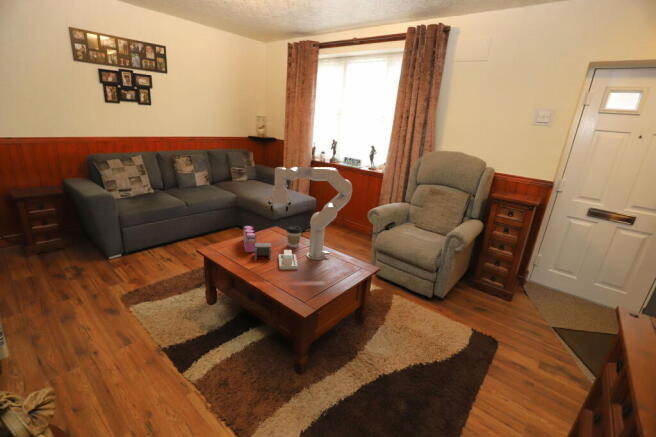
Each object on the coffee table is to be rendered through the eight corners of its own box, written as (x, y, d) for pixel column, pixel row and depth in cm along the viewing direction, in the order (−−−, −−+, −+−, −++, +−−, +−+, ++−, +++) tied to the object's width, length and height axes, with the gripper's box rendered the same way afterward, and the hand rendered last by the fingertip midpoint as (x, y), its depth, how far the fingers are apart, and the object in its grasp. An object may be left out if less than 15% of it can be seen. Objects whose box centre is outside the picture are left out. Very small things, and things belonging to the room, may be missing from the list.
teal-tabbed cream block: (291, 258, 212) (291, 249, 210) (292, 266, 200) (292, 257, 198) (283, 258, 211) (283, 249, 209) (284, 266, 199) (284, 257, 197)
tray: (295, 257, 215) (295, 254, 214) (297, 269, 198) (297, 265, 197) (278, 257, 213) (278, 254, 212) (279, 269, 195) (279, 265, 195)
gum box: (242, 241, 236) (243, 225, 233) (252, 240, 239) (253, 224, 235) (245, 252, 216) (245, 235, 213) (256, 252, 219) (256, 235, 215)
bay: (270, 254, 216) (270, 243, 214) (270, 259, 208) (271, 247, 206) (255, 254, 214) (255, 243, 212) (254, 259, 206) (254, 247, 204)
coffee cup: (298, 250, 227) (299, 231, 223) (283, 248, 229) (284, 228, 225) (302, 245, 238) (304, 226, 234) (288, 243, 240) (289, 224, 236)
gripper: (292, 185, 212) (291, 210, 217) (266, 184, 208) (266, 209, 213) (293, 188, 205) (292, 213, 210) (266, 186, 201) (266, 212, 206)
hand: (279, 211), depth 211 cm, fingers open, 9 cm apart
